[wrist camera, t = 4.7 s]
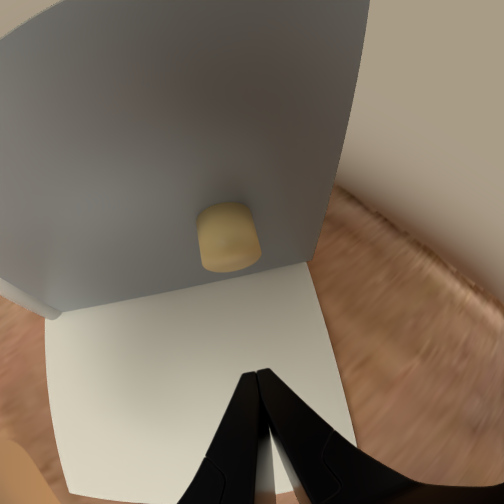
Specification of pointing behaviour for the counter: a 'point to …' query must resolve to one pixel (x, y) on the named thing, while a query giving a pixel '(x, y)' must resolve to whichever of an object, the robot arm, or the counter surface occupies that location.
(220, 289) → the board
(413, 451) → the counter surface
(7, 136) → the door
